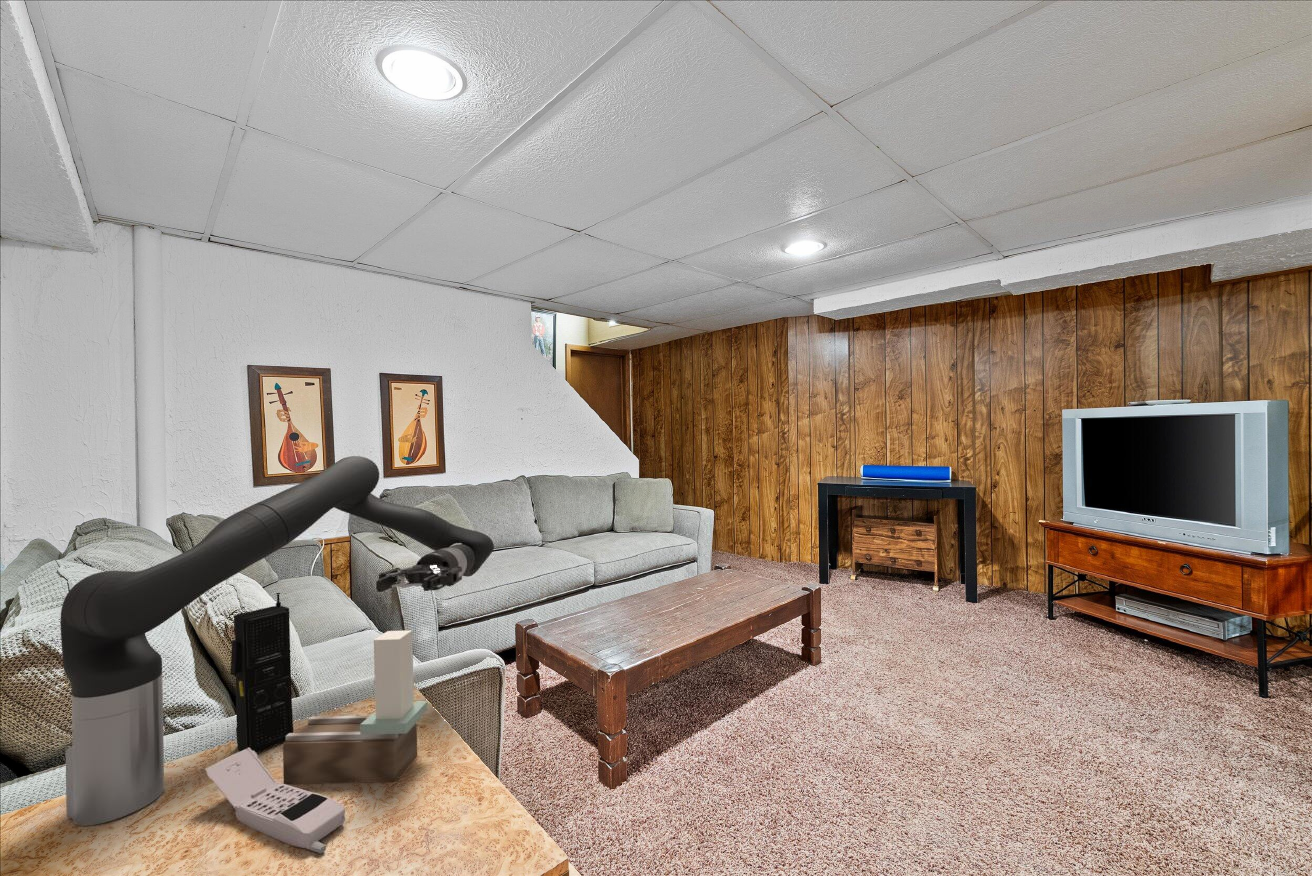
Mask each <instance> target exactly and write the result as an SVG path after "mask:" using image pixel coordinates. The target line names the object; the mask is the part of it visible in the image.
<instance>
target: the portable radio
mask: <svg viewBox="0 0 1312 876" xmlns="http://www.w3.org/2000/svg"><path fill="white" fill-rule="evenodd" d="M280 594H281V592H277V593H275V595H276V599H277V600H276V603H275V605H273V606H269V607H268V606H267V607H264V608H258V609H255V610H251V611H247V612H243V613H239V614H235V615H233V632H234V639H232V641H231V655H230V659H231V660H230V671H229V672H230V675H231V676H234V677H235V705H236V706H235V708H236V709H235V710H236V712H235V713H236V716H235V717H236V728H235V733H236V749H237V750H238V751H239V752H240V751H243V750H245V749H247V748H250V749H251V750H252V751H255V753H256V754H258V753H260V752H263V751H265V750H267V749H270V748H272V747H274V746H277V745H279V744H281V743H282V744H283V743H284V742H286V735H288V734H289V733H294V721H293V720H294V719H293V718H294V717H293V700H292V699H293V698H292V697H293V693H292V692H293V691H292V673H291V672H292V671H291V669H292V668H291V664H292V663H291V661H292V660H291V629H290V628H291V627H290V626H291V625H290V608H289V607H286V606H284V605H282V603H281V601H280Z"/></svg>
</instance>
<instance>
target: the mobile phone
mask: <svg viewBox="0 0 1312 876" xmlns="http://www.w3.org/2000/svg"><path fill="white" fill-rule="evenodd" d="M204 770H205V771H206V775H207V776H208V778H209V779H210V780H211V781H212V782H213V783H214V784H215V786H216V787H217V788H218V790H219V791H220V792H221V793H222V795H223V796H224V797H225V799H227V801H228V802H229V804H230V805H231V806H232V807H233V808H234V809H235V816H236V818H237V820H238V822H240V823H242V824H243V825H246V826H248V827H250V828H251V829H254V830H256V831H258V832H259V833H261V834H265V835H267V836H268V837H271V838H273V839H275V840H278V841H280V842H282V843H285V844H287V845H289V846H293V847H297V848H303V849H307V850H309V851H312V852H316V853H319V854H323V853H324V852H325V851H326V850H327V845H325V844H324V843H322V842H320V840H322V839H323V838H325V837H326V836H327V835H329V834H330V833H332V832H333V831H334V830H336V829H337V828H339V827H340V826H341V825H343V824H344V822H345V821H346V808H345V805H343V804H342V803H340V802H338V801H336V800H335V799H332V798H330V797H328V796H326V795H323V794H321V793H318V792H311V791H309V790H305V789H302V788H299V787H297V786H292V785H290V784H284V782H281V781H276V780H275V778H274V777H273V776H272V774H271V773H270V772H269V770H268V769H267V768H266V766H265V765H264V763H263V762H262V761H261V760H260V758H259V757H258V753H255V751H252V750H251V749H250V748H247V749H245V750H243V751H240V750H239V751H237V752H235V753H233V754H232V755H229V756H227V757H225V758H223V759H221V760H219V761H218V762H216V763H214V764H212V765H210V766H207V767H206V768H205V769H204Z"/></svg>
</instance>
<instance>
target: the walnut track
mask: <svg viewBox="0 0 1312 876" xmlns="http://www.w3.org/2000/svg"><path fill="white" fill-rule="evenodd" d="M370 715H371V714H369V715H368V714H367V715H329V716H328V715H327V716H326V715H325V716H322V715H321V716H311V717H309V718H308V719H307V721H308V722H307V723H308V724H307V725H305V726H304V727H302V728H301V729H300V730H299V731H297V732H293V733H289V734H288V735H286V741H284V742H282V762H283V763H282V765H283V769H282V770H283V784H286V785H291V784H292V785H294V784H295V785H296V784H301V785H302V784H335V783H336V784H342V783H343V784H345V783H346V784H347V783H349V784H350V783H354V784H355V783H392V782H393V783H394V782H396V781H397V780H398V779H399V777H400V776H401V775H402V774H403V772H405V770H406V769H407V768H408V767H409V765H411V763H412V762H413V761H414V760H415V758H416V757H417V756H418V735H417V734H418V728H417V727H418V726H417V723H418V722H417V723H416V724H415V725H414V726H413V727H412V728H411V729H410V730H409V731H408V732H407V733H405V734H360V724H361V723H362V722H363V721H365V720H366V719H367V718H368V717H369V716H370Z"/></svg>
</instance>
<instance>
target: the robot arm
mask: <svg viewBox="0 0 1312 876" xmlns="http://www.w3.org/2000/svg"><path fill="white" fill-rule="evenodd" d="M379 480H380V470H379V468H378V465H377V464H376V463H375V462H374V461H373V460H371V459H370V458H367V457H365V456H359V455H353V456H352V455H351V456H347V457H343V458H341V459H339V460H338V461H336V462H335V463H333V464H332V465H330V466H328V467H327V468H325V469H324V470H322V471H320V472H319V473H317V474H316V475H314V476H313V477H311V478H309V479H307V480H305V481H303V482H301V483H299V484H296V485H294V486H292V487H289V488H287V489H284V490H282V491H280V492H278V493H276V494H273V495H272V496H270V497H267V498H265V499H263V500H261V501H258V502H255V503H254V504H252V505H250V506H248V507H245V508H243V509H242V510H239V511H237V512H235V513H233V514H232V515H229V516H228V517H226V518H225V519H223V520H222V521H220V522H219V523H218V524H216V526H215V527H213V529H211V530H210V532H209V533H208V534H207V535H206V536H204V538H202V540H201V541H200V542H198V543H197V544H196V545H194V546H192V547H191V548H190V549H188V550H186V551H184V552H182V553H180V554H178V555H175V556H174V557H171V558H169V559H167V560H165V561H162V562H160V563H158V564H156V565H153V566H150V567H148V568H144V569H142V570H139V571H132V570H131V571H129V570H106V571H100V572H96V573H93V574H89V575H88V576H86V577H85V578H81V580H79V581H78V582H77V583H75V585H73V587H71V588H70V590H69V591H68V593H66V596H65V598H64V600H63V602H62V606H61V610H60V618H59V619H60V621H59V622H60V623H59V624H60V640H61V642H60V643H61V655H62V666H63V670H64V673H65V675H66V677H67V678H68V680H69V683H70V687H71V688H70V689H71V690H70V691H71V721H72V722H71V730H72V731H71V733H72V734H71V737H72V738H71V739H72V742H71V743H72V745H70V746H69V747H68V748H67V749H66V750H65V794H66V796H65V800H66V801H65V803H66V805H65V807H66V808H65V809H66V810H65V811H66V815H65V816H66V819H72V820H73V823H74V824H76V825H79V826H93V825H99V824H104V823H107V822H111V821H114V820H118V819H120V818H123V817H125V816H128V815H130V814H132V813H134V812H136V811H137V812H138V811H139V810H140V809H143V808H144V807H146V806H147V805H150V804H151V803H152V802H154V801H155V800H157V799H158V798H159V797H160V796H161V795H162V794H163V792H164V790H165V766H164V765H165V763H164V762H165V755H164V753H165V750H164V749H165V748H164V746H165V745H164V697H163V696H164V693H163V692H164V691H163V689H164V688H163V659H162V656H161V654H160V653H159V652H158V651H157V650H155V649H154V647H153V646H152V645H151V644H150V642H149V641H148V639H147V636H146V634H147V633H148V632H150V631H152V630H154V629H155V628H157V627H158V626H160V625H162V624H163V623H165V622H166V621H168V620H169V619H171V618H172V617H173V616H175V615H176V614H177V613H179V612H180V611H181V610H184V608H185V607H187V606H188V605H190V604H191V603H193V602H194V601H196V600H197V599H198V598H200V597H202V596H203V594H205V593H207V592H208V591H210V590H211V589H213V588H214V587H216V586H218V585H220V584H221V583H223V582H224V581H226V580H228V579H230V578H232V577H234V576H235V575H237V574H239V573H240V572H242V571H244V570H245V569H247V568H249V567H250V566H253V565H254V564H256V563H257V562H260V561H261V560H264V559H265V558H267V557H269V556H270V555H272V554H273V553H275V552H277V551H278V550H279V551H280V549H281V548H282V549H283V548H284V547H285V546H287V545H288V544H290V543H291V542H293V541H294V540H296V538H298V537H299V536H301V535H302V534H303V533H305V532H306V531H307V530H308V529H309V528H311V527H312V526H313V525H314V524H315V523H317V521H319V520H320V519H321V518H322V517H323V516H325V514H327V513H329V512H330V511H331V510H332V509H337V510H339V511H341V512H344V513H346V514H348V515H352V516H355V517H357V518H358V517H359V518H360V519H363V520H366V521H369V522H372V523H375V524H376V525H380V526H382V527H386V528H387V529H390V530H393V531H395V532H398V533H400V534H402V535H405V536H406V537H409V538H410V539H413V540H414V541H416V542H417V543H419V544H422V545H423V546H425V547H427V548H429V549H431V550H433V551H431V552H430V553H426V554H424V555H422V557H420V559H418V560H417V562H416V564H414V565H413V566H410V567H405V568H400V567H395V568H393V569H390V570H386V571H384V572H381V573H379V574H378V579H377V581H376V582H375V583H376V584H375V588H376V589H375V590H377V591H376V592H378V593H383V592H386V591H387V590H389V589H392V588H397V587H398V588H401V589H405V588H409V587H414V586H415V587H421V588H422V589H423V592H429V591H438V590H441V589H443V588H445V587H453V586H454V585H456V584H457V583H459V582H461V581H462V579H463V577H467V578H468V577H472V576H473V575H475V574H476V573H477V572H478V571H479V570H480V568H481V567H482V566H483V564H485V563H486V560H487V559H488V558H489V557H490V556H491V554H492V553H493V552H494V549H495V544H494V542H493V540H492V538H491V537H490V536H488V535H487V534H485V533H484V532H481V531H477V530H474V529H469V528H465V527H461V526H459V525H456V524H453V523H451V522H449V521H447V520H445V519H443V518H442V517H440V516H439V515H437V514H435V513H433V512H431V511H429V510H427V509H423V508H419V507H415V506H409V505H402V504H397V503H394V502H393V503H392V502H390V501H386V500H383V499H381V498H379V497H377V496H376V495H374V494H373V491H374V490H375V489H376V487H377V486H378V483H379ZM405 580H406V581H407V582H405Z"/></svg>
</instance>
